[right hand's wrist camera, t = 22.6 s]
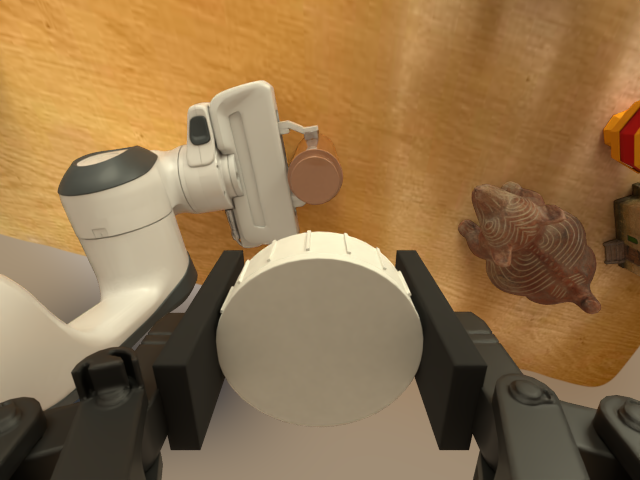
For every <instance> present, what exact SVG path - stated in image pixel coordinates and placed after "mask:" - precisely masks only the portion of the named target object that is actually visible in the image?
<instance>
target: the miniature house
mask: <svg viewBox="0 0 640 480" xmlns="http://www.w3.org/2000/svg"><path fill="white" fill-rule="evenodd" d="M632 187H633V195H630V196H627V197H624V198H621V199H618V200H615V201H614V210H615V224H616V238H617V239H615V240H612V241H609V242H606V243H603V245H604V246H605V250H606V261H604V262H605V264H614V263H618V265H619V266H620V267H622V268H626V269H628V270H629V271H631V272H633V273H635V274H637V275H638V276H640V183H635V184H633V185H632Z"/></svg>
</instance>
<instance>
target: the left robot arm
mask: <svg viewBox="0 0 640 480" xmlns="http://www.w3.org/2000/svg"><path fill="white" fill-rule="evenodd" d="M290 129H292V130H295V131H297V132H300V133H302V134H304V137H305V141H306V140H311V139H312V138H313V139H318V138H319V131H318V125H315V126H309V127H303V126H301V125H299V124H296V123H294V122H291V121H289V120H288V121H282V122H280V121H279V115H278V110H277V104H276V99H275V94H274V88H273V86H272V85H270V84H269V83H268V82H266V81H255V82H250V83H246V84H243V85H239V86H236V87H233V88H230V89H227V90H225V91H222V92H220V93H219V94H217V95H216V96H215V97H214V98H213V99H212V100H211V102H210V103H208V102H204V103H198V104H195V105H193V106H191V107H190V108H189V110H188V121H187V144H186V145H181V146H179V147H177V148H175V149H173V150H169V151H158V150H147V149H145V148H142V147H140V146H134V147H128V148H122V149H116V150H108V151H101V152H96V153H91V154H88V155H85V156H82V157H80V158H78V159H76V160H75V161H73V163H72V164H71V166H70V167H69V168H68V170H67V171H66V173H65V175H64V176H63V178H62V180H61V182H60V185H59V188H58V193H59V196H60V200H61V203H62V205H63V208H64V210H65V212H66V214H67V217H68V219H69V221H70V223H71V225H72V227H73V229H74V231H75V234H76V236H77V237H78V239H79V241H80V243H81V245H82V247H83V249H84V251H85V253H86V256H87V258H88V260H89V262H90V264H91V266H92V268H93V271H94V273H95V275H96V277H97V280H98V283H99V288H100V295H101V298H100V303H98V304H97V305H95V306H94V307H92V308H91V309H89V310H88V311H86V312H85V313H84V314H82V315H81V316H79V317H78V318H76V319H75V320H73V321H72V322H70V323H69V324H66V323H65V322H63V321H62V320H60V319H59V318H58V317H56V316H55V315H54V314H53V313H51V312H50V311H49V310H48V309H47V308H46V307H45V306H44V305H43V304H42V303H41V302H40V301H39V300H37V299H36V298H35V297H34V296H33V295H32V294H31V293H30V292H29V291H28V290H26V289H25V288H24V287H22V286H21V285H20V284H18V283H16V282H15V281H13V280H11V279H10V278H8V277H6V276H4V275H2V274H0V403H1V402H4V401H7V400H9V399H14V398H19V397H31V398H35V399H36V400H37V401H39V402H40V405H41V407H42V410H43V411H45V410H49V409H53V408H58V407H62V406H66V405H70V404H72V403H74V402H75V401H76V400H77V399H79V396H78V393H77V390H76V387H75V384H74V381H73V378H72V375H71V371H72V370H73V369H74V367H75V366H76V365H77V364H78V363H79V362H80V361H82V360H83V359H84V358H86V357H87V356H89V355H91V354H93V353H95V352H97V351H100V350H103V349H107V348H110V347H122V346H123V347H127V348H132V347H133V345H135V344H136V343H137V342H138V341H139V339H140V338H141V337H142V336H143V335H144V334H145V333H146V332H147V331H148V330H149V329H150V328H151V327H152V326H153V325H154V324H155V323H156V322H157V321H158V320H159V319H161V318H162V317H163V316H165V315H167V314H168V313H170V312H171V311H173V310H174V309H176V308H177V307H178V306H180V305H181V304H182V303H183V302H184V301H185V300H186V299H187V298H188V296H189V295H190V293H191V291H192V290H193V288H194V285H195V283H196V281H197V271H196V269H195V267H194V264H193V262H192V260H191V258H190V255H189V253H188V251H187V250H186V247H185V244H184V241H183V238H182V235H181V232H180V230H179V227H178V224H177V221H176V218H175V215H177V214H180V213H193V214H200V213H207V212H213V211H220V210H225V212H226V216H227V219H228V222H229V225H230V228H231V235H232V237H233V239H234V240H236V241H237V243H238V244H239V245H241V246H242V247H244V248H252V247H258V246H261V245H263V244H272V242H273V241H274V240H276V241H278V240H280V239H283V238H286V237H289V236H292V235H296V234H299V223H298V218H297V212H296V207H301V206H303V205H305V204H306V203H305V202H303V201H301V200H300V199H298V198H297V197H296V196H295V195H294V194H293V192H292V191H291V189H290V187H289V184H288V179H287V173H288V164H287V158H286V153H285V148H284V142H283V137H282V134H288V133H289V132H290ZM239 239H241V242H240V240H239Z"/></svg>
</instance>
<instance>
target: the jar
mask: <svg viewBox="0 0 640 480" xmlns="http://www.w3.org/2000/svg"><path fill="white" fill-rule="evenodd" d="M287 179H288V184H289V187H290V189H291V191H292V192H293V194H294V195H295V196H296V197H297V198H298V199H300V200H301V201H303V202H305V203H308V204H312V205H318V204H323V203H325V202H327V201H329V200H331V199H332V198H333V197H334V196H335V195H336V194H337V193H338V192H339V190H340V188H341V185H342V182H343V172H342V168H341V165H340V162H339V159H338V156H337V153H336V149H335V147H334V144H333V143H332V141H331V140H330V139H329V138H328V137H326V136H324V135H322V134H319V138H318V139H313V138H312V139H311V140H306V141H305V138H303V139H302V140H301V142H300V143H299V145H298V147H297V150H296V152H295V154H294V157H293V159H292V161H291V163H290V166H289V169H288V173H287Z"/></svg>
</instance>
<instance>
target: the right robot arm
mask: <svg viewBox="0 0 640 480" xmlns="http://www.w3.org/2000/svg"><path fill="white" fill-rule="evenodd" d="M243 267H244V256H243V250H224V251H223V253H222V255H221V256H220V258H219V259H218V261H217V263H216V264H215V266H214V267H213V269H212V271H211V272H210V274H209V275H208V277H207V279H206V280H205V282H204V283H203V285H202V287H201V288H200V290H199V291H198V293H197V295H196V296H195V298H194V299H193V301H192V303H191V304H190V306H189V307H188V309H187V311H186V312H185V313H168V314H167V315H165V316H164V317H163V318H161V319H160V320H158V321H157V322H156V323H155V324H154V325H153V327H152V328H151V330H150V331H149V332H148V335H146V336H145V338H144V339H143V341H142V342H141V345H139V346H138V347H137V349H136V350H135V351H134V350H133V349H132V348H127V347H123V346H122V347H110V348H107V349H103V350H100V351H97V352H95V353H93V354H91V355H89V356H87V357H86V358H84V359H83V360H82V361H80V362H79V363H78V364H77V365H76V366H75V367H74V369H73V370H72V371H71V375H72V378H73V381H74V384H75V387H76V390H77V393H78V396H79V399H80V402H77V403H74V404H70V405H66V406H62V407H58V408H53V409H49V410H45V411H43V410H42V407H41V405H40V402H39V401H37V400H36V399H35V398H31V397H19V398H14V399H9V400H7V401H4V402H1V403H0V480H161V478H162V468H163V463H162V456H161V452H160V450H161V448H162V446H163V443H164V441H165V439H166V437H167V435H168V439H169V444H170V448H171V450H200V449H201V447H202V444H203V441H204V438H205V435H206V432H207V429H208V426H209V423H210V420H211V417H212V414H213V411H214V408H215V405H216V402H217V399H218V396H219V393H220V390H221V387H222V384H223V381H224V379H225V376H224V374H223V372H222V369H221V367H220V365H219V361H218V354H217V346H216V332H217V327H218V323H219V319H220V317H221V314H222V313H220V310H221V308H222V306H223V304H224V302H225V299H226V297H227V295H228V293H229V291H230V289H231V287H232V286H233V287H234V285H235V283H236V281H237V279H238V277H239V275H240V273H241V272H242V269H243ZM395 268H396V270H397V271H401V273H402V275H403V277H404V280H405V282H406V284H407V286H408V288H409V290H410V293H411V296H410V298H411V300H412V303H413V305H414V307H415V309H416V311H417V314H418V316H419V319H420V322H421V326H422V332H423V352H422V358H421V362H420V365H419V367H418V370H417V372H416V374H415V379H416V382H417V385H418V388H419V391H420V394H421V397H422V400H423V403H424V406H425V409H426V412H427V415H428V418H429V421H430V424H431V427H432V430H433V432H434V435H435V438H436V441H437V444H438V447H439V450H469V447H470V443H471V438H472V434H473V435H474V438H475V440H476V442H477V444H478V446H479V449H480V452H479V456H478V461H477V465H476V469H475V473H474V477H473V480H640V401H638V400H635V399H632V398H630V397H624V396H618V395H614V396H606V397H605V398H604V399H602V400H601V401H600V404H599V407H598V409H593V408H589V407H584V406H580V405H576V404H572V403H567V402H564V401H561V400H559V399H558V397H557V396H556V394H555V393H554V392H553V391H552V390H551V389H550V388H549V387H548V386H547V385H545V384H544V383H542V382H540V381H538V380H537V379H535V378H532V377H529V376H526V375H523V373H522V372H521V371H520V369H519V368H518V367H517V365H516V364H515V363H514V361H513V360H512V358H511V357H510V356H509V354H508V353H507V352H506V350H505V349H504V348H503V346H502V345H501V343H499V341H498V339H497V338H496V337H495V335H494V334H492V331H491V330H490V328H489V327H488V326H487V324H486V323H485V322H484V321H483V320H482V319H480V318H479V317H478V316H476V315H475V314H473V313H472V312H454V311H453V309H452V308H451V306H450V305H449V303H448V301H447V300H446V298H445V297H444V295H443V293H442V292H441V290H440V289H439V287H438V285H437V284H436V282H435V281H434V279H433V277H432V276H431V274H430V273H429V271H428V269H427V268H426V266H425V265H424V263H423V261H422V260H421V258H420V257H419V255H418V253H417V252H416V250H397V254H396V265H395Z"/></svg>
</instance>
